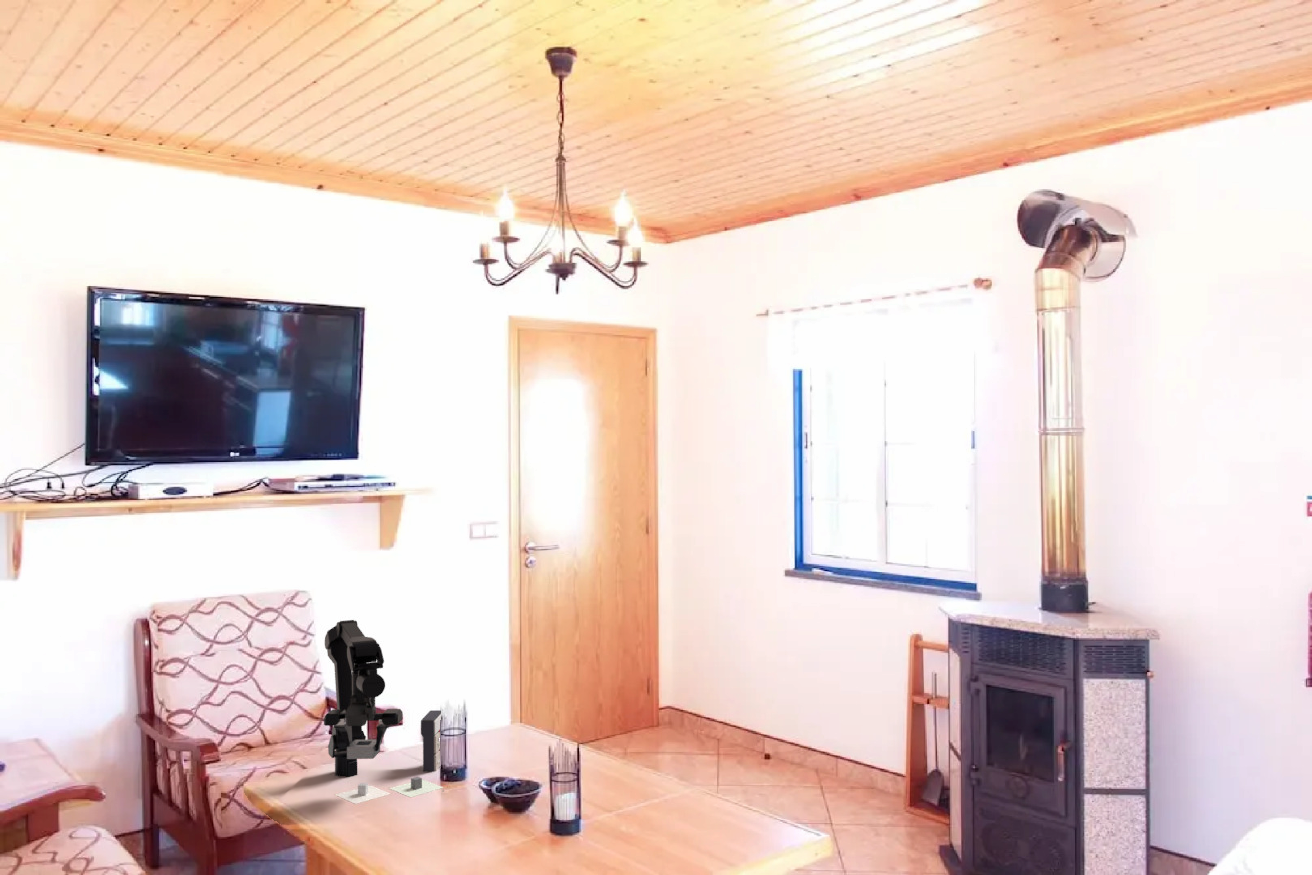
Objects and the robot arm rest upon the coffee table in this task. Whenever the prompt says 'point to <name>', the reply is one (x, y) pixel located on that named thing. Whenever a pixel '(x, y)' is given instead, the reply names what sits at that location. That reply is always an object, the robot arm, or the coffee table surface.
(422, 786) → the hub board
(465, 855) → the coffee table surface
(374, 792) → the plate stand
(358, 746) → the grey socket block
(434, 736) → the calculator
